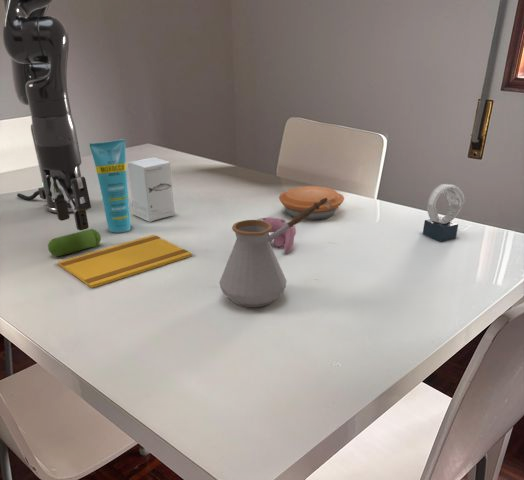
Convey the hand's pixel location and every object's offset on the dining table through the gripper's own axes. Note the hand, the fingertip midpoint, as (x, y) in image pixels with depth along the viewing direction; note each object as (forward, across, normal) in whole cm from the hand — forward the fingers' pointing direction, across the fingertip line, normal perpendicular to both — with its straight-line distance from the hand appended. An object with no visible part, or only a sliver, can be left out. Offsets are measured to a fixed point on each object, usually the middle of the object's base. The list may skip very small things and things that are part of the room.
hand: (73, 224), depth 114 cm
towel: (+6, -11, -5) cm, 13 cm away
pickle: (+6, 0, 0) cm, 6 cm away
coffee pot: (+6, -42, -17) cm, 46 cm away
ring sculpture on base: (+6, -46, -61) cm, 77 cm away
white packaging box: (+6, +8, -24) cm, 26 cm away
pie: (+6, -16, -53) cm, 55 cm away
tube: (+6, +5, -13) cm, 15 cm away
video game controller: (+6, -26, -30) cm, 40 cm away
